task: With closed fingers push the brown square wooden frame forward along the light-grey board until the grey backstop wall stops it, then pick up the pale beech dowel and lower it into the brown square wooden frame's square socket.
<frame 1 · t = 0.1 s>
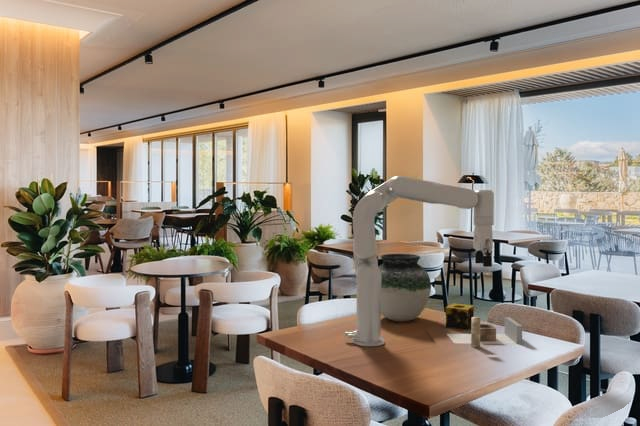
hand: (483, 264, 203), 31 cm above the table, fingers open, 9 cm apart
vase: (400, 319, 244), on the table
brown square wooden frame: (483, 332, 206), point 3 cm above the table, slide at 0.0 cm
dowel: (475, 349, 196), on the table
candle: (460, 329, 227), on the table
board: (482, 341, 206), on the table
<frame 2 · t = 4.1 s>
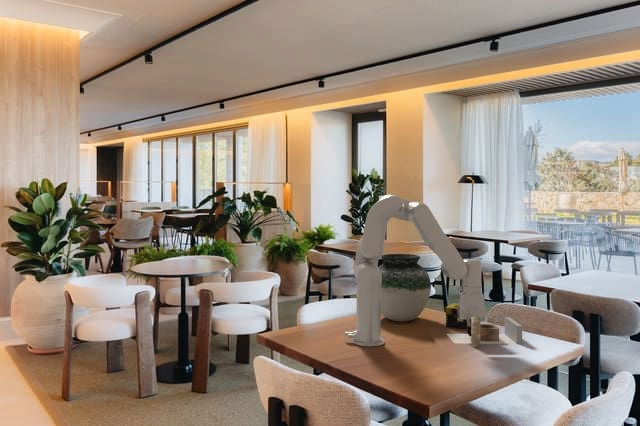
hand: (470, 335, 206), 2 cm above the table, fingers closed
brown square wooden frame: (486, 332, 206), point 3 cm above the table, slide at 1.2 cm, touching gripper
everything else where it was.
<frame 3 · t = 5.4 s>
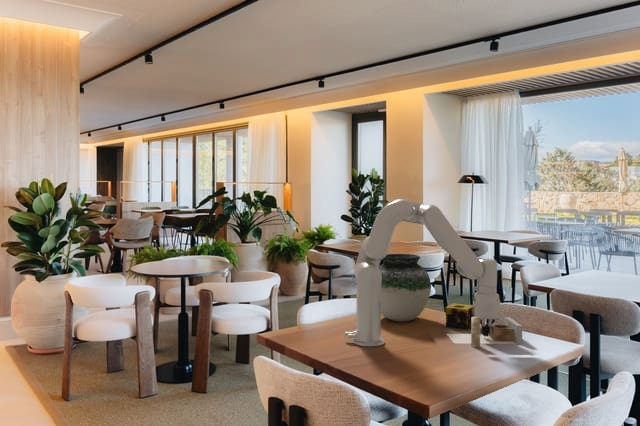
hand: (485, 335, 206), 2 cm above the table, fingers closed
brown square wooden frame: (501, 332, 206), point 3 cm above the table, slide at 7.0 cm, touching board, gripper
everything else where it was.
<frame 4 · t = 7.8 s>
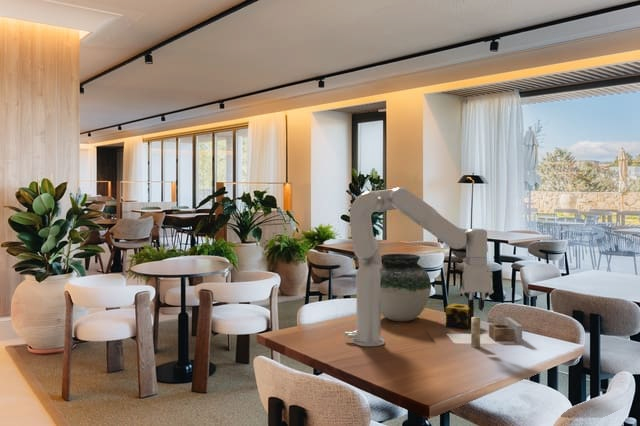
hand: (476, 309, 195), 15 cm above the table, fingers closed
brown square wooden frame: (501, 332, 206), point 3 cm above the table, slide at 7.0 cm, touching board
everything else where it was.
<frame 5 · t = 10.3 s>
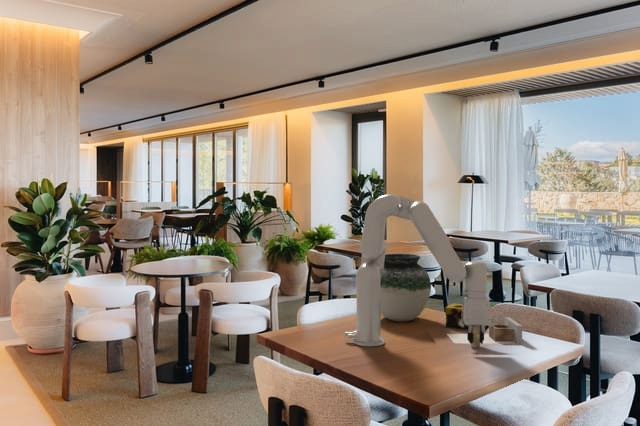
hand: (475, 342, 195), 3 cm above the table, fingers closed on dowel, 3 cm apart
dowel: (475, 349, 196), on the table, touching gripper
everything else where it was.
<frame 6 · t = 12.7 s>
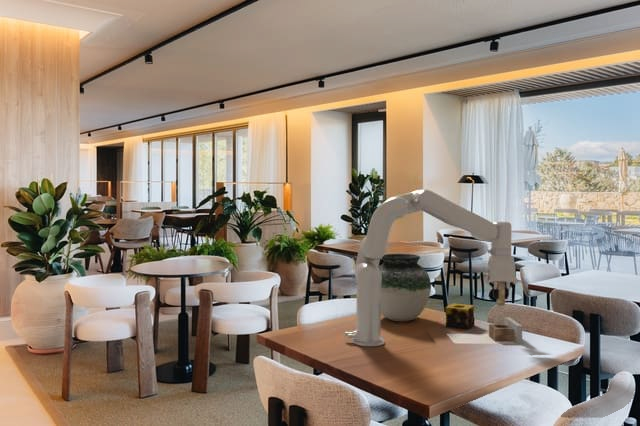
hand: (500, 298, 206), 17 cm above the table, fingers closed on dowel, 3 cm apart
dowel: (500, 304, 206), point 15 cm above the table, touching gripper
everything else where it was.
when the fingers open (7 cm above the table, at t = 14.9 s): dowel drops 3 cm, resting on board.
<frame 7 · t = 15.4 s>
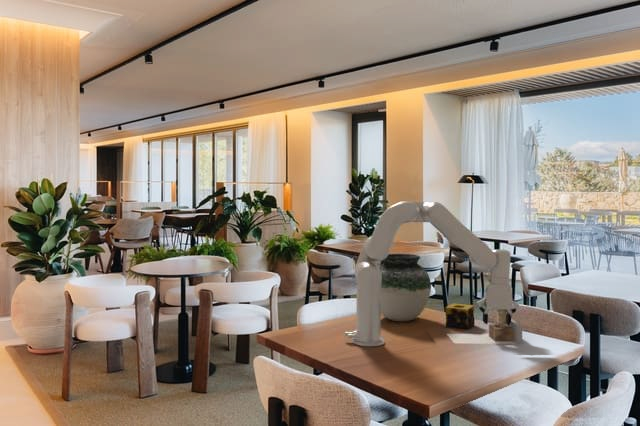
hand: (496, 323, 206), 7 cm above the table, fingers open, 8 cm apart
dowel: (500, 338, 206), point 1 cm above the table, touching board
everything else where it was.
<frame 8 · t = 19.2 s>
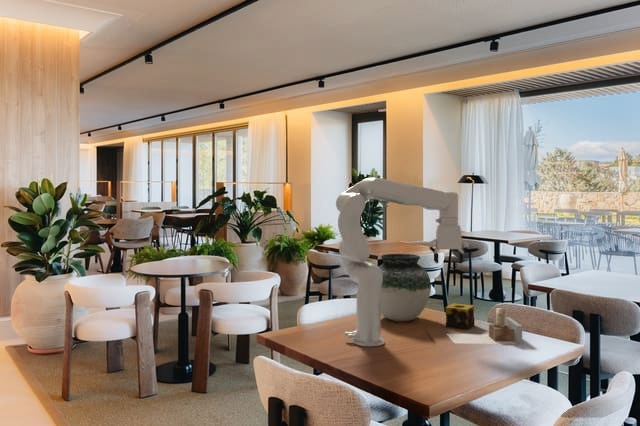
hand: (448, 262, 215), 30 cm above the table, fingers open, 9 cm apart
nothing on the table moved.
at the end: brown square wooden frame slide at 7.0 cm; dowel 0.3 cm from the brown square wooden frame (horizontally); dowel point 1.0 cm above the table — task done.
